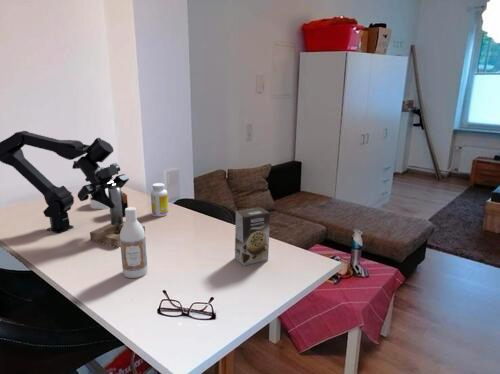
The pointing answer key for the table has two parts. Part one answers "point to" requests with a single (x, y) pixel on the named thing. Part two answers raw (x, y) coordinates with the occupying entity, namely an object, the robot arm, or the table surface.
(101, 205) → the teardrop
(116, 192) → the grey metal cylinder
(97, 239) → the holder block
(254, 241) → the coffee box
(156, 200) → the supplement bottle
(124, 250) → the bath foam
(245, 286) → the table surface
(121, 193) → the battery
